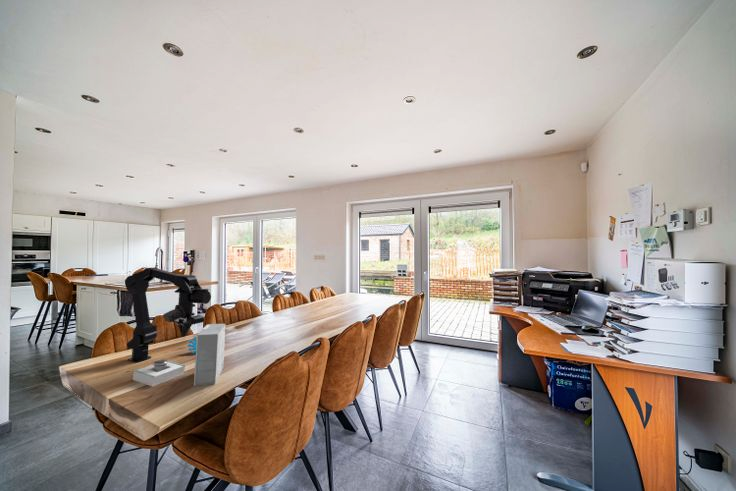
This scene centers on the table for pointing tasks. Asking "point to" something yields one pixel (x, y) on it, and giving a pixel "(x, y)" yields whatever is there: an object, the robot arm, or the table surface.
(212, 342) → the hard drive box
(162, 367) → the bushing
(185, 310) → the robot arm
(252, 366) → the table surface
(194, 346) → the gear
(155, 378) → the jig
